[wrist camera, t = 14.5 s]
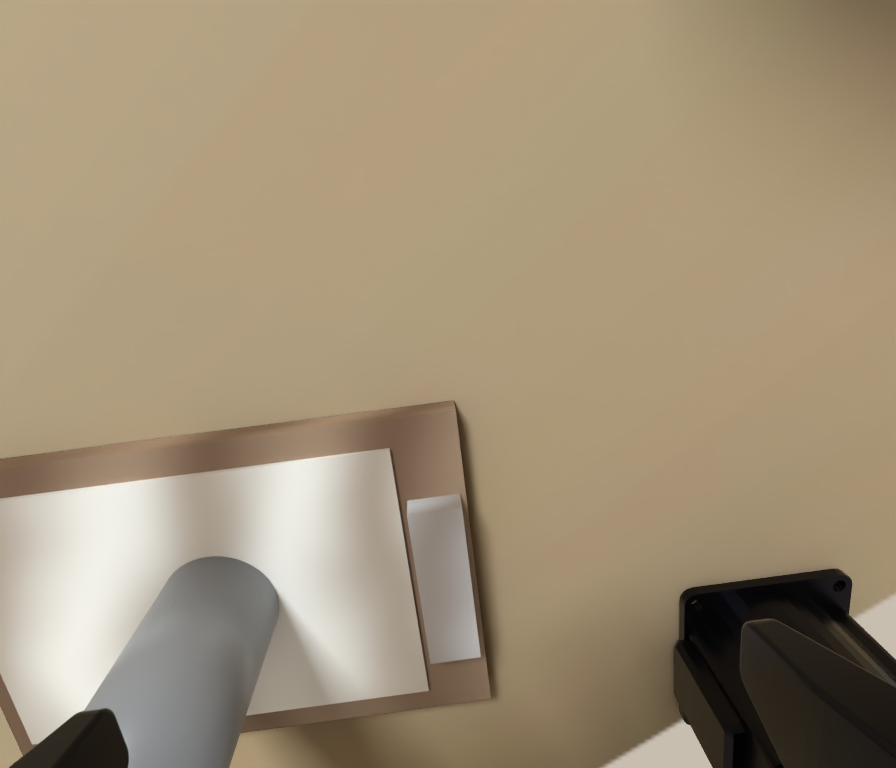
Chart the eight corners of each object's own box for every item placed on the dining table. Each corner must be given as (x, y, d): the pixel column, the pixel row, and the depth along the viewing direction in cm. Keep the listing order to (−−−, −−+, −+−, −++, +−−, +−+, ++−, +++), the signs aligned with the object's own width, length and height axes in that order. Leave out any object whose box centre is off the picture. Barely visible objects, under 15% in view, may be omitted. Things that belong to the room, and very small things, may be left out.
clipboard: (454, 400, 20) (457, 422, 18) (488, 678, 23) (494, 721, 21) (-77, 469, 19) (-131, 498, 18) (42, 738, 23) (8, 787, 21)
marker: (265, 548, 20) (124, 881, 10) (289, 642, 21) (184, 1017, 11) (148, 564, 20) (-105, 914, 10) (179, 658, 21) (-18, 1046, 11)
